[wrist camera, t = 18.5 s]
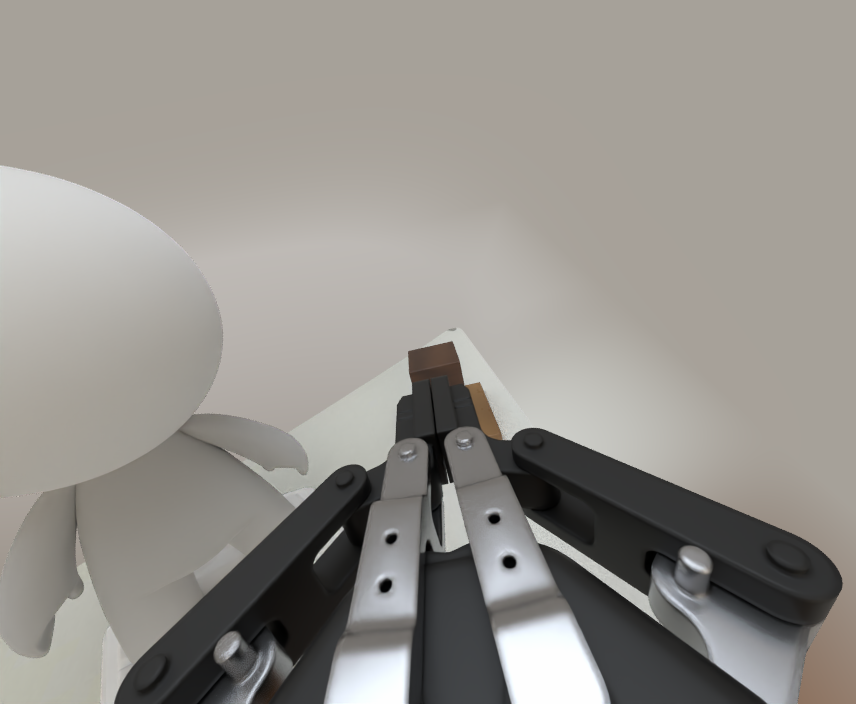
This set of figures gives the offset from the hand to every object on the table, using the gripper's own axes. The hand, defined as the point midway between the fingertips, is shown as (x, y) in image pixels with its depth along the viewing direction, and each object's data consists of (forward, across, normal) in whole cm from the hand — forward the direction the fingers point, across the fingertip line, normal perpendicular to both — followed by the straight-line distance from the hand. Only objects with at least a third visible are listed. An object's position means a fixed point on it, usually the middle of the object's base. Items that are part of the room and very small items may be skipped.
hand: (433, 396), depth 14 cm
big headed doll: (+7, +22, +21) cm, 31 cm away
